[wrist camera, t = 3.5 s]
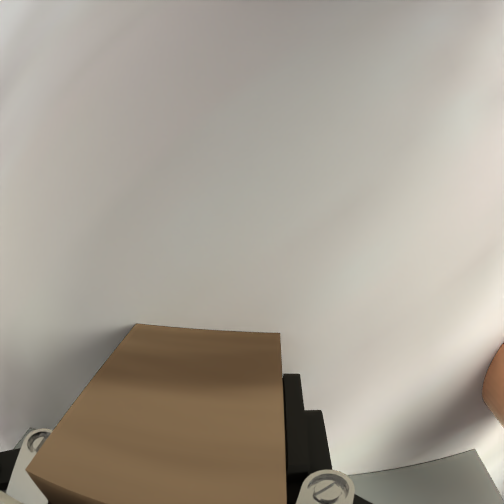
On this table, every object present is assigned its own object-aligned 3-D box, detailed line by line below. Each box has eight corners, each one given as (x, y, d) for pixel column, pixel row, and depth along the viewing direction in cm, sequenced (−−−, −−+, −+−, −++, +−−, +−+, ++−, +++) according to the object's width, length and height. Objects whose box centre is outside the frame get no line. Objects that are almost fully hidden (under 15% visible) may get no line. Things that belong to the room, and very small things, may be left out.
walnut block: (135, 323, 11) (24, 469, 4) (279, 333, 10) (287, 530, 4) (154, 423, 12) (100, 555, 5) (272, 434, 12) (268, 586, 5)
